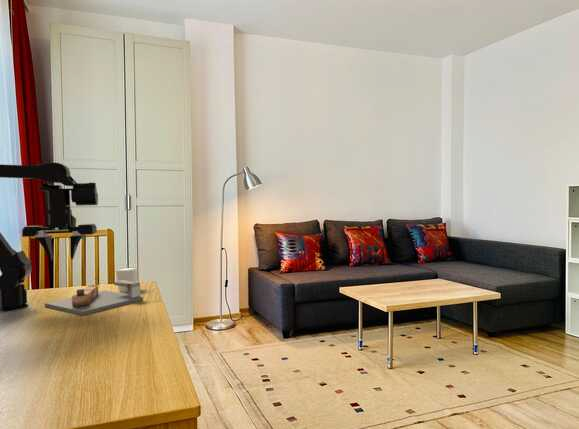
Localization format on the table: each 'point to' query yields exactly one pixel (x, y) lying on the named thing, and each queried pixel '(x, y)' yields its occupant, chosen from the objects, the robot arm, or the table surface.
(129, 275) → the white pedestal piece
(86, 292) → the link
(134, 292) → the keeper
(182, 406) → the table surface
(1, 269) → the robot arm
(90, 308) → the board
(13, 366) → the table surface
